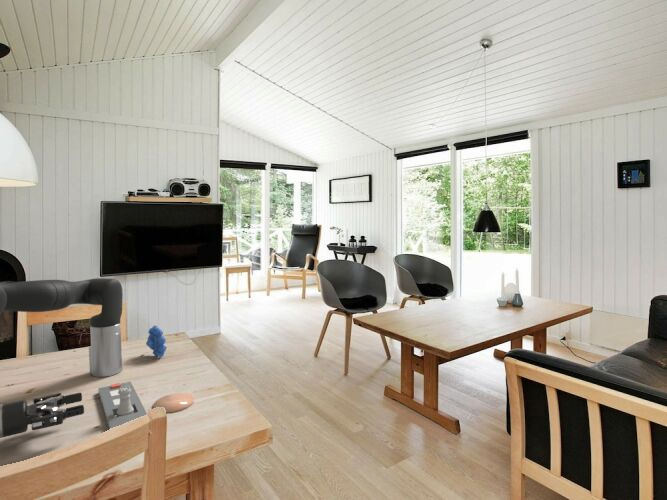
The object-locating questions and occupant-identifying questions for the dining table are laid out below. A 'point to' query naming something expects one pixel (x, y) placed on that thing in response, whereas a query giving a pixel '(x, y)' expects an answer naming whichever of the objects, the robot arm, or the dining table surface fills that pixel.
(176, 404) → the peach dome
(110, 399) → the power strip
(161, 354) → the grapes
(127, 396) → the rook chess piece
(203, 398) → the dining table surface
